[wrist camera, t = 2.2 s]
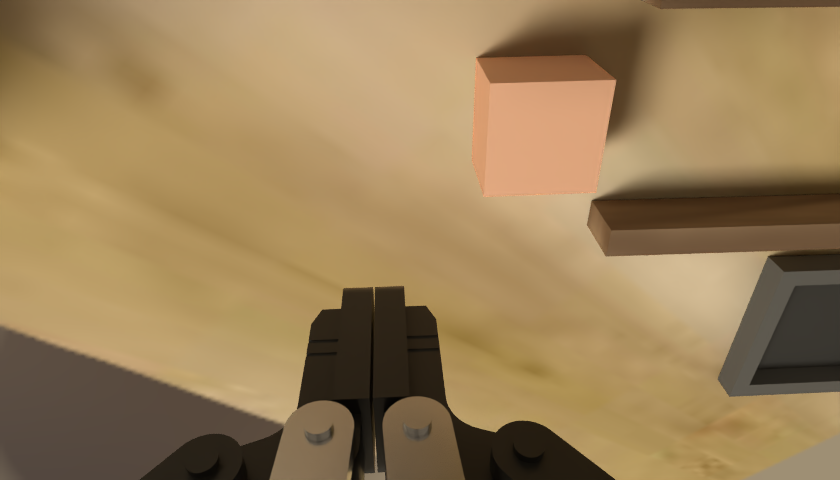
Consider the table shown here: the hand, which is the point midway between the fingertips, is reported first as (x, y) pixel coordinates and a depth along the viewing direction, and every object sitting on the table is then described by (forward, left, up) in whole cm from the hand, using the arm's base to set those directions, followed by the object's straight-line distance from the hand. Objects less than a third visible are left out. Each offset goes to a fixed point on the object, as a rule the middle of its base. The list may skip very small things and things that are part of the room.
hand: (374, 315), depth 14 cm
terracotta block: (0, +7, -15) cm, 16 cm away
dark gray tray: (+14, +27, -14) cm, 34 cm away
